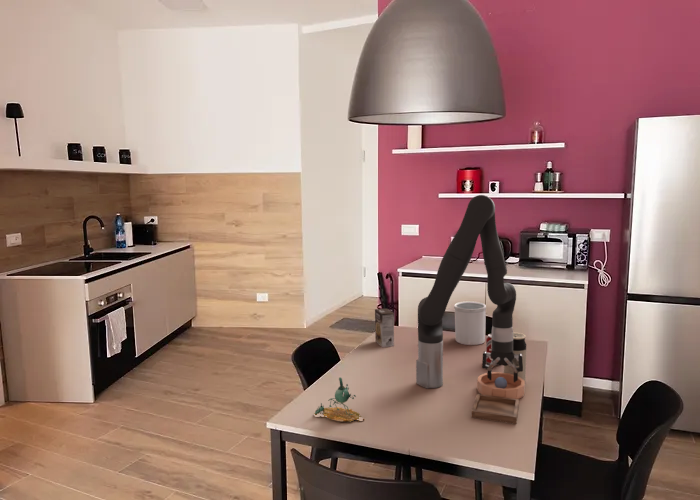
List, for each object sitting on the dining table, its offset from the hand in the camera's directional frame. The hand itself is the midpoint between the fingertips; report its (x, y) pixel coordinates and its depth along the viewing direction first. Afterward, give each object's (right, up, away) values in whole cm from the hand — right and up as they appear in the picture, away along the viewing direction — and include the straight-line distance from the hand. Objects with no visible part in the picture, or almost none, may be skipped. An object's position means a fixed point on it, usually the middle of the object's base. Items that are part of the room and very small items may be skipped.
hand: (502, 380), depth 191 cm
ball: (-1, -1, -1) cm, 1 cm away
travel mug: (+7, -3, +9) cm, 12 cm away
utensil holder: (+1, +4, +58) cm, 58 cm away
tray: (-7, -6, -16) cm, 19 cm away
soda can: (+5, 0, +28) cm, 28 cm away
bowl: (-1, -4, 0) cm, 4 cm away
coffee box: (-39, +3, +56) cm, 68 cm away
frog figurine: (-59, -8, -17) cm, 62 cm away
